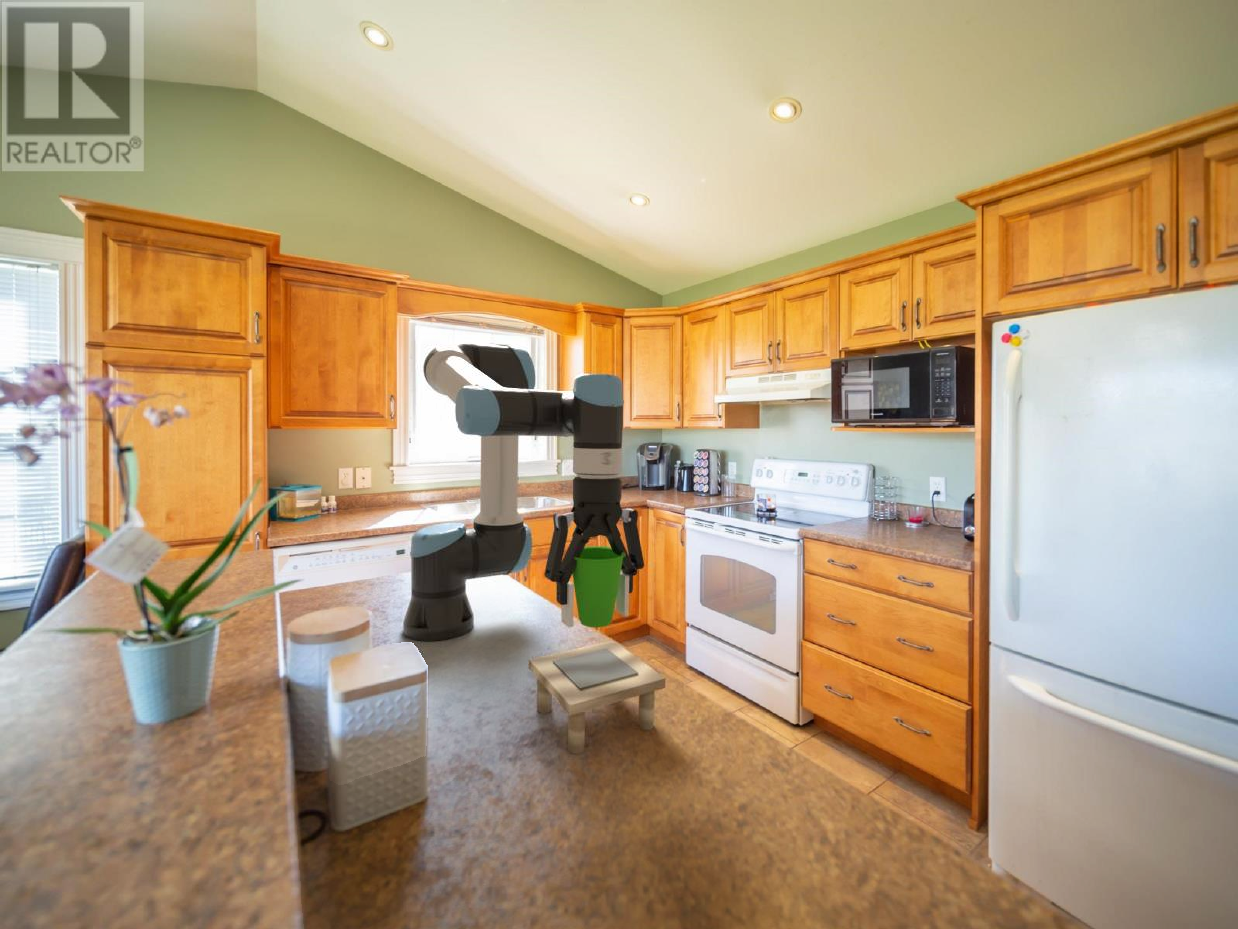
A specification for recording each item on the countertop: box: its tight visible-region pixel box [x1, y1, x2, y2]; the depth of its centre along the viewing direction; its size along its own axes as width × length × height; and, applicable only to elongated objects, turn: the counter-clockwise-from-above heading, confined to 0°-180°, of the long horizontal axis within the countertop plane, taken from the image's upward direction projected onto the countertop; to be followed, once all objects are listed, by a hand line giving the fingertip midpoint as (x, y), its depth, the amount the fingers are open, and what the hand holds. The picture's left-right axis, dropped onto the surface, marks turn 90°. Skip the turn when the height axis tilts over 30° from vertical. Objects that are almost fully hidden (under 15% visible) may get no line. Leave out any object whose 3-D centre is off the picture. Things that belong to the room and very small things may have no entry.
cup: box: [572, 545, 626, 628], centre depth 80 cm, size 9×9×11 cm
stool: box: [528, 640, 666, 755], centre depth 82 cm, size 16×16×8 cm
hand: (595, 618), depth 81 cm, fingers closed on cup, 9 cm apart
